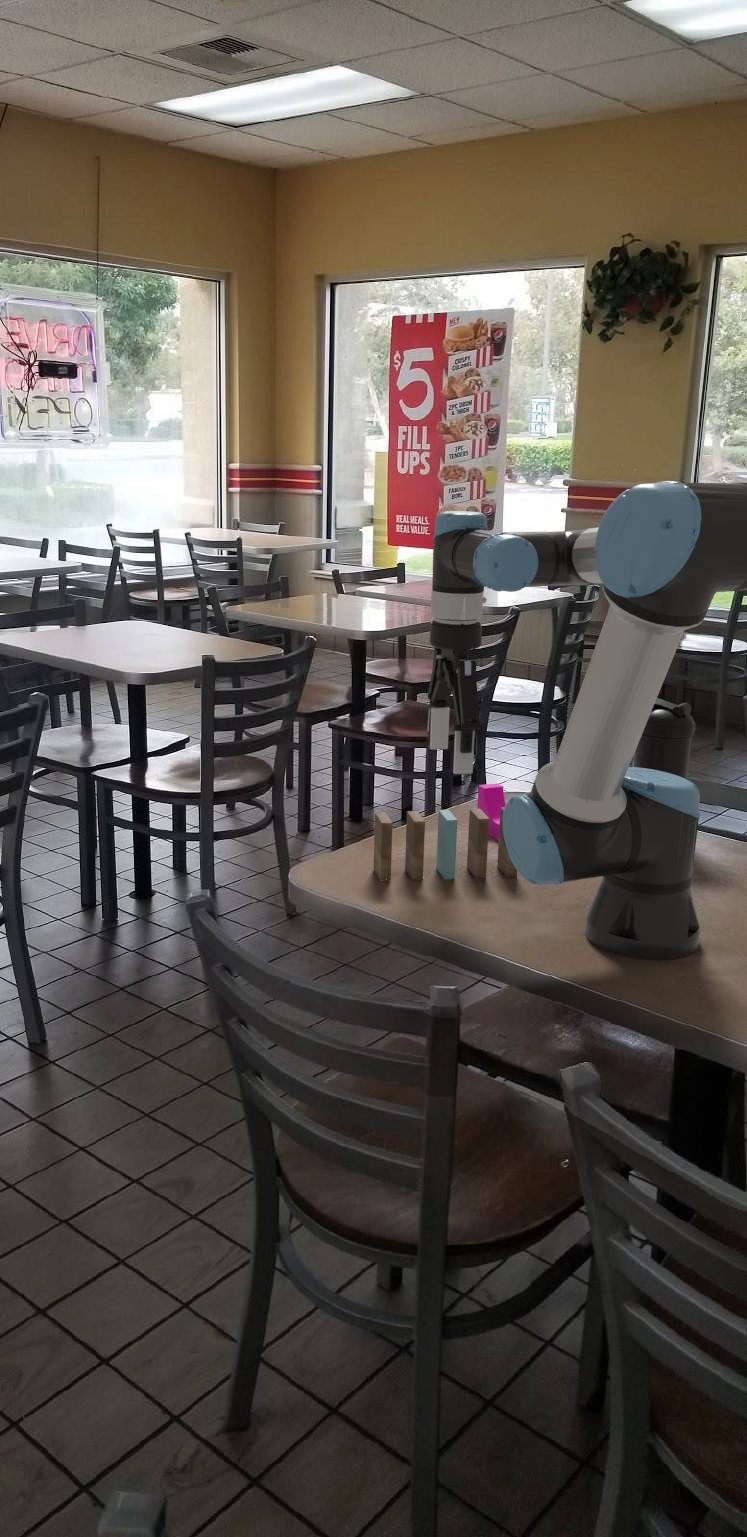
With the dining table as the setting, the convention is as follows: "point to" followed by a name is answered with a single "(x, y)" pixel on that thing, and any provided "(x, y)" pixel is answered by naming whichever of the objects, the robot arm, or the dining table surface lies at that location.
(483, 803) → the toy block
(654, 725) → the water bottle
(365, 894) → the dining table surface
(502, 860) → the domino
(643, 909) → the robot arm
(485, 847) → the domino
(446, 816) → the domino
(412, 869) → the domino
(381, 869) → the domino
